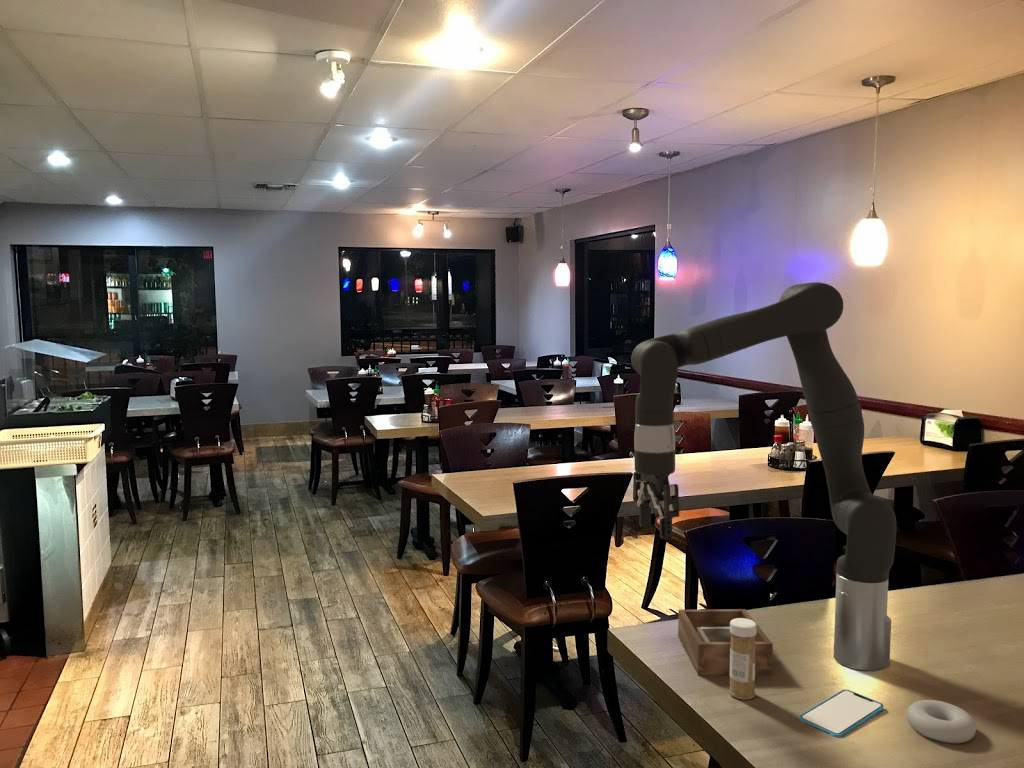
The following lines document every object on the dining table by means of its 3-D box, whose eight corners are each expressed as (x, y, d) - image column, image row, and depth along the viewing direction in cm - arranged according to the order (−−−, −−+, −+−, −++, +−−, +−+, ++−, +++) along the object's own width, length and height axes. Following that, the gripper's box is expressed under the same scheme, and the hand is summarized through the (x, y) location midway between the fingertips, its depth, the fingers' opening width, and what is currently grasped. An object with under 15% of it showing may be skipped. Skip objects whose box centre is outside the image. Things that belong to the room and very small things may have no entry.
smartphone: (796, 716, 130) (845, 688, 138) (796, 723, 130) (844, 694, 139) (838, 736, 124) (886, 705, 132) (838, 743, 124) (886, 711, 133)
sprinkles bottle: (760, 696, 137) (762, 623, 136) (743, 703, 135) (745, 629, 134) (740, 685, 141) (741, 614, 140) (723, 692, 139) (724, 620, 137)
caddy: (744, 636, 162) (745, 609, 162) (771, 674, 145) (772, 643, 145) (678, 637, 162) (678, 609, 162) (698, 675, 145) (698, 644, 145)
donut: (919, 709, 133) (896, 729, 126) (920, 690, 133) (897, 709, 126) (984, 732, 126) (963, 755, 119) (985, 712, 126) (965, 733, 119)
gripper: (691, 452, 138) (692, 540, 140) (655, 440, 152) (655, 520, 153) (653, 455, 136) (654, 544, 138) (620, 442, 150) (621, 524, 151)
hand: (655, 531), depth 145 cm, fingers open, 8 cm apart
